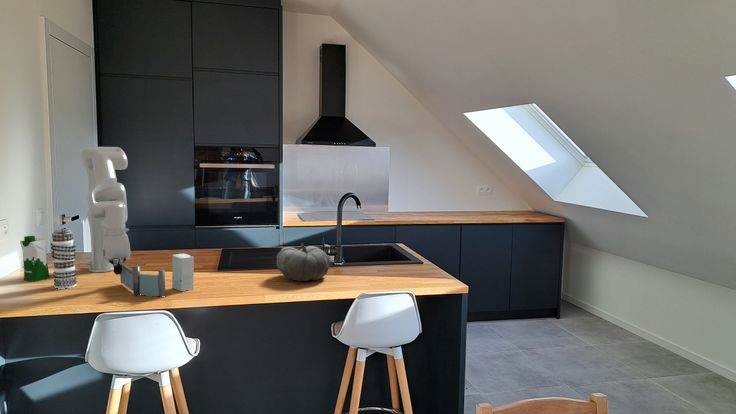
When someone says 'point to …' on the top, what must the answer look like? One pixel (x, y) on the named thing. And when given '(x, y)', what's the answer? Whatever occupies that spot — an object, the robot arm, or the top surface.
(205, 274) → the top surface
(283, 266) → the gourd
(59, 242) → the black and white bottle
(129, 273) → the gate
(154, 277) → the fence panel
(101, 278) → the top surface
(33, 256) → the milk carton
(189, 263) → the skincare box
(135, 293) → the hinge post
